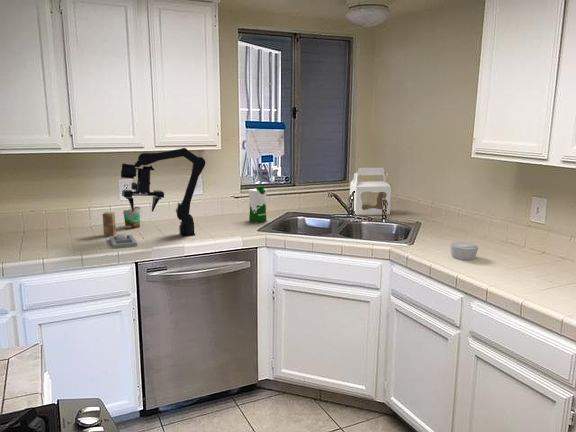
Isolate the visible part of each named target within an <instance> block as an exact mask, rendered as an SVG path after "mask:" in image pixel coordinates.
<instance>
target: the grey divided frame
mask: <svg viewBox="0 0 576 432" xmlns="http://www.w3.org/2000/svg"><path fill="white" fill-rule="evenodd" d="M109 241H110V243H111V246H112V248H113V249H123V248H131V247H138V242H137V241H136V239H135V238H134V236H133V235H132V233H131V234H127V233H118V234H117V233H116V235H115V236H109Z"/></svg>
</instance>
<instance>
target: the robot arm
mask: <svg viewBox="0 0 576 432" xmlns="http://www.w3.org/2000/svg"><path fill="white" fill-rule="evenodd" d="M181 157H184V158H185V159H186V160H188V161H190V162H191V163H192V164H191V173H190V176H189V179H188V183H187V186H186V189H185V191H184V195H183V199H182V200H181V202H177V207H176V209H175V213H176V218H177V219H178V220H179V225H178V232H179V235H181V236H182V237H188V236H189V237H190V236H196V233H195V222H194V217H193V215H192V214H190V211H191V210H190V209H191V208H190V207H191V203H192V198H193V196H194V192H195V189H196V186H197V183H198V180H199V177H200V175H201V174H202V172H203V170H204V169H205V167H206V160H205V159H204V157H202V156H199V155H197V154H196V155H195V154H194V153H193V152H191V151H190V150H188V149H187V147H182V148H178V149H171V150H164V151H159V152H154V151H153V152H152V151H151V152H149V151H148V152H147V151H146V152H140V154H139V155H138V158H137V161H136V162H134V164H131V163H125V162H123V163H122V164H121V170H120V177H121V179H134V178H135V177H137V182H131V189H123V190H122V191H121V196H122V197H123V198H125V199H126V200H127V201H128V203H129V206H130V209H132V212H133V211H134V208H135V206H134V205H135V204H134V196H142V197H143V196H145V197H146V196H147V197H148V196H149V197H152V206H151V212H154V210H155V208H156V207H157V204H158V202H159V201H160V200H162V199H163V198H165V192H164V191H162V190H159V189H158V190H157V189H156V190H153V191H151V190H150V189H151V171H155V168H154V167H153V165H152V164H154V163H156V162H159V161H164V160H171V159H175V158H181ZM148 165H149V166H148ZM142 166H143V167H142ZM133 190H134V191H133Z"/></svg>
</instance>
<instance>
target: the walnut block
mask: <svg viewBox="0 0 576 432" xmlns="http://www.w3.org/2000/svg"><path fill="white" fill-rule="evenodd" d="M115 214H116V213H115V212H113V211H111V212H103V213H102V224H103V225H102V226H103V237H105V238H107V237H109V238H110V236H117V230H116V215H115Z"/></svg>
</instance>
